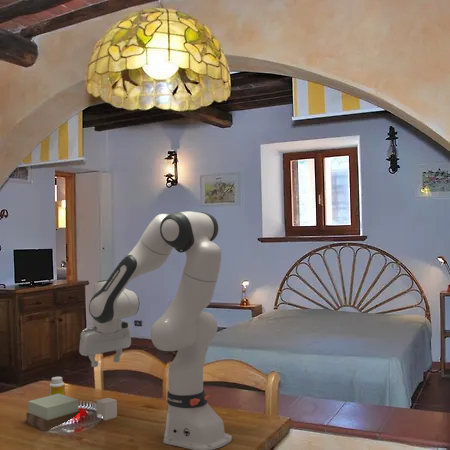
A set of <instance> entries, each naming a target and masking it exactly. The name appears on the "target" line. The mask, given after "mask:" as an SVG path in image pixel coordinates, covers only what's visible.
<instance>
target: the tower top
mask: <svg viewBox="0 0 450 450" xmlns="http://www.w3.org/2000/svg"><path fill="white" fill-rule="evenodd" d="M27 410H28V411H27V413H30V414H33V415H35V416H38V417H40V418H43V419H45V420H50V419H53V418H57V417H60V416H63V415H67V414H70V413H74V412H77V411H79V399H77V398H74V397H71V396H68V395H62V394H59V393H58V394H55V395H51V396H49V395H48V396H43V397H40V398H39V397H38V398H35V399H31V400H28V401H27Z"/></svg>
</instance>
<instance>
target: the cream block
mask: <svg viewBox="0 0 450 450" xmlns="http://www.w3.org/2000/svg"><path fill="white" fill-rule="evenodd" d="M117 405H118V400H117V399H115V398H111V397H106V398H105V397H104V398H101V399H98V400H96V414H97V413H98V414H101V415H102V416H103V421H108V420H112V419H114V418H118V407H117Z"/></svg>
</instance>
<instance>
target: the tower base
mask: <svg viewBox="0 0 450 450" xmlns="http://www.w3.org/2000/svg"><path fill="white" fill-rule="evenodd" d="M80 412H81V411H80V410H78V411H77V412H74V413H70V414H67V415H63V416H60V417H57V418H53V419H50V420H45V419H43V418H40V417H38V416H35V415H33V414H30V413H28V412H26V424H27V425H30V426H33V427H36V428H37V429H39V430H42V431H44V432H50V431H51V430H50V429H51V428H53V427H55V426H58V425H60V424H62V423H64V422H67V421H68V420H70V419H71V418H73V417H75V416H76V415H77V414H78V413H80ZM49 430H50V431H49Z"/></svg>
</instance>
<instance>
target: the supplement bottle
mask: <svg viewBox="0 0 450 450" xmlns="http://www.w3.org/2000/svg"><path fill="white" fill-rule="evenodd" d="M48 386H49V387H48V389H49V393H48V396H51V395H55V394H58V393H59V394H62V395H65V394H66V393H65V390H66V389H65V382H64V381H63V377H62V376H53V377H51V382H50V383H49V385H48ZM65 396H66V395H65Z"/></svg>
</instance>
